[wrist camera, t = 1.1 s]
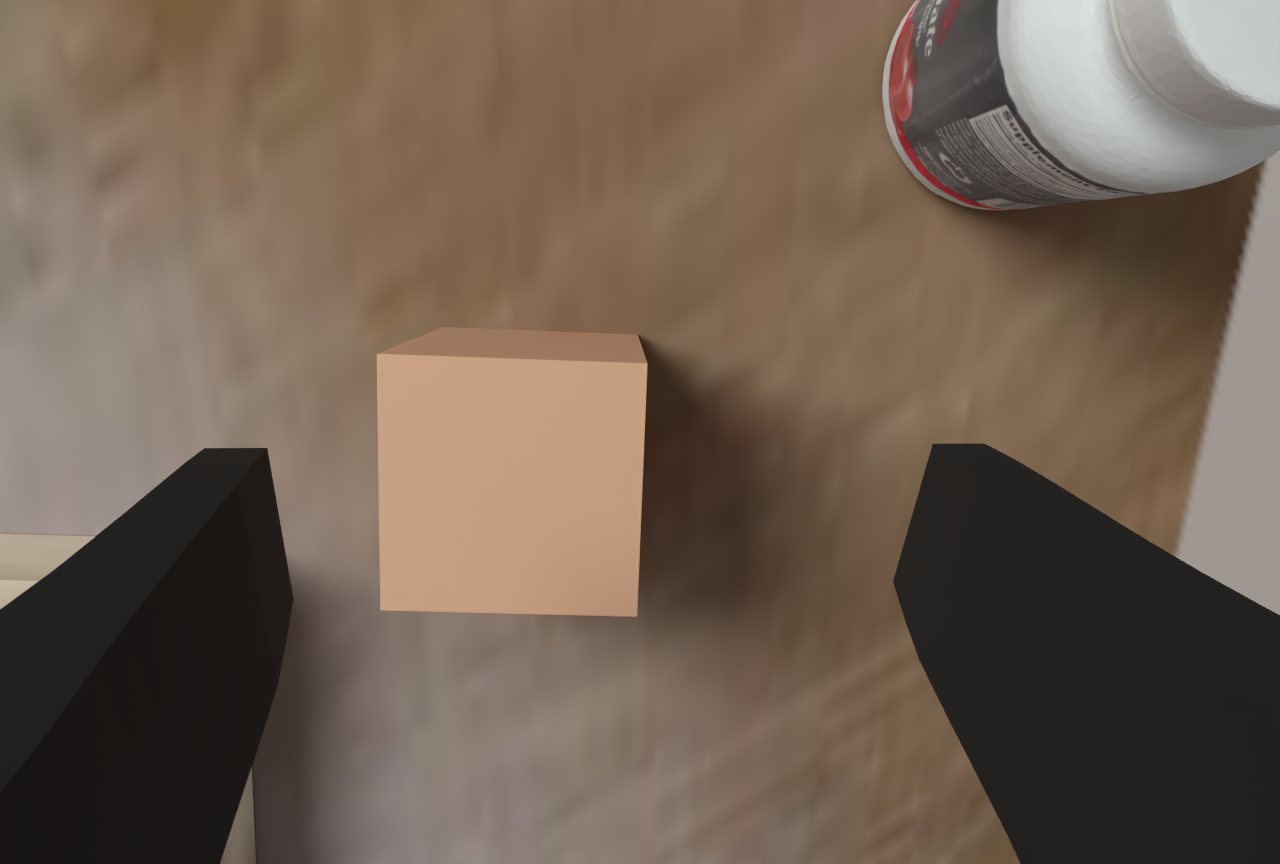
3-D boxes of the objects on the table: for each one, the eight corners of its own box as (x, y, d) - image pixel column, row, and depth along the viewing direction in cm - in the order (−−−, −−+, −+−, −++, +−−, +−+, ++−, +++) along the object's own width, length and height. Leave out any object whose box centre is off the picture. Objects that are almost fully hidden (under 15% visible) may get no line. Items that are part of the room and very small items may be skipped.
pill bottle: (947, -87, 20) (1268, -417, 10) (1158, 27, 20) (1653, -182, 11) (833, 149, 20) (1027, 53, 11) (1039, 252, 21) (1396, 248, 11)
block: (630, 520, 22) (637, 616, 16) (442, 515, 22) (380, 610, 16) (637, 334, 21) (647, 363, 15) (442, 327, 21) (376, 353, 15)
